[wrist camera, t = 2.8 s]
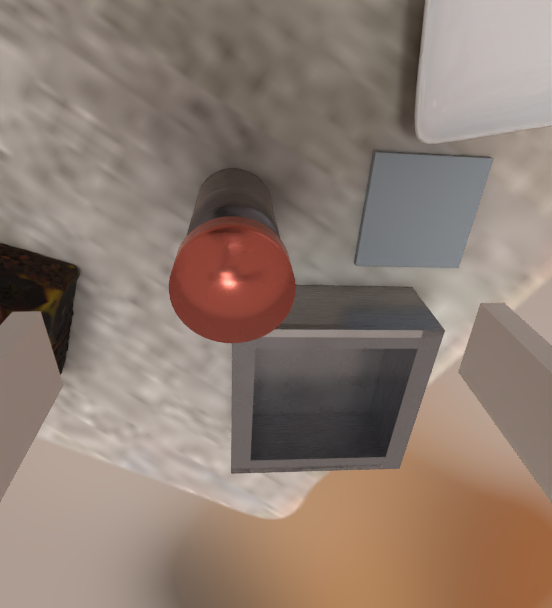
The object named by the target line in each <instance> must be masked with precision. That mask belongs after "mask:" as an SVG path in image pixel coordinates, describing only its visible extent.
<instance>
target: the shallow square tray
mask: <svg viewBox="0 0 552 608" xmlns="http://www.w3.org/2000/svg"><path fill="white" fill-rule="evenodd" d="M444 332H445V330H444V329H443V327H442V326H441V325H440V323H439V322H438V321H437V319H436V318H435V317H434V316H433V314H432V313H431V312H430V310H429V309H428V308H427V306H426V305H425V304H424V302H423V301H422V300H421V298H420V297H419V296H418V294H417V293H416V292H415V291H414V289H413V288H412V287H367V286H309V285H296V291H295V299H294V302H293V305H292V308H291V310H290V312H289V314H288V315H287V317H286V318H285V320H284V321H283V322H282V323H281V324H280V325H279V326H278V327H277V328H276V329H274V330H273V331H272V332H270V333H269V334H267V335H265V336H263V337H261V338H258V339H256V340H252V341H248V342H242V343H233V344H232V442H231V473H265V472H299V471H333V470H368V469H399V468H400V465H401V462H402V459H403V456H404V453H405V450H406V447H407V444H408V441H409V438H410V435H411V432H412V428H413V426H414V423H415V420H416V417H417V414H418V411H419V408H420V404H421V402H422V398H423V395H424V392H425V389H426V386H427V383H428V380H429V377H430V374H431V371H432V368H433V365H434V362H435V359H436V356H437V353H438V350H439V347H440V344H441V341H442V338H443V335H444Z"/></svg>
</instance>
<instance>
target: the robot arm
mask: <svg viewBox="0 0 552 608" xmlns="http://www.w3.org/2000/svg"><path fill="white" fill-rule="evenodd" d="M459 374H460V375H461V376H462V378H463V379H464V381H465V382H466V383H467V385H468V386H469V388H470V389H471V390H472V392H473V393H474V395H475V396H476V397H477V399H478V400H479V402H480V403H481V404H482V406H483V407H484V409H485V410H486V411H487V413H488V414H489V415H490V417H491V418H492V420H493V421H494V422H495V424H496V425H497V427H498V428H499V430H500V431H501V432H502V434H503V435H504V437H505V438H506V439H507V441H508V442H509V444H510V445H511V446H512V448H513V449H514V451H515V452H516V453H517V455H518V456H519V458H520V459H521V460H522V462H523V463H524V465H525V466H526V467H527V469H528V470H529V472H530V473H531V474H532V476H533V477H534V479H535V480H536V481H537V483H538V484H539V485H540V487H541V488H542V490H543V491H544V492H545V494H546V495H547V497H548V498H549V499H550V501H551V502H552V345H550V344H549V343H548V342H547V341H546V340H545V339H544V338H543V337H542V336H540V335H539V334H538V333H537V332H536V331H535V330H534V329H532V327H530V326H529V325H528V324H527V323H526V322H525V321H524V320H522V319H521V318H520V317H519V316H518V315H517V314H516V313H515V312H514V311H513V310H511V309H510V308H509V307H508V306H507V305H506V304H505V303H480V307H479V310H478V313H477V316H476V319H475V322H474V325H473V328H472V331H471V335H470V338H469V341H468V344H467V347H466V350H465V353H464V356H463V360H462V363H461V366H460V369H459ZM62 387H63V382H62V379H61V376H60V373H59V369H58V366H57V363H56V360H55V356H54V353H53V350H52V347H51V343H50V340H49V337H48V334H47V330H46V327H45V324H44V321H43V317H42V314H41V311H31V312H12V313H11V314H10V315H9V316H8V317H7V318H6V319H5V321H4V322H3V323H2V324H1V325H0V501H1V499H2V498H3V496H4V494H5V492H6V490H7V488H8V487H9V485H10V482H11V481H12V479H13V477H14V475H15V474H16V472H17V470H18V468H19V466H20V464H21V463H22V461H23V459H24V457H25V455H26V453H27V451H28V450H29V448H30V446H31V444H32V442H33V440H34V439H35V437H36V435H37V433H38V431H39V429H40V427H41V426H42V424H43V422H44V420H45V418H46V416H47V414H48V413H49V411H50V409H51V407H52V405H53V403H54V402H55V400H56V398H57V396H58V394H59V392H60V390H61V389H62Z"/></svg>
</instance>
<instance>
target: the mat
mask: <svg viewBox="0 0 552 608" xmlns="http://www.w3.org/2000/svg"><path fill="white" fill-rule="evenodd" d="M492 161H493V158H490V157H478V156H459V155H439V154H420V153H400V152H381V151H374V152H373V158H372V164H371V169H370V175H369V181H368V186H367V192H366V198H365V204H364V209H363V215H362V221H361V226H360V232H359V238H358V244H357V249H356V255H355V261H354V263H355V265H356V266H394V267H439V268H459V264H460V261H461V258H462V255H463V252H464V249H465V246H466V243H467V239H468V236H469V233H470V230H471V227H472V224H473V221H474V218H475V214H476V211H477V208H478V205H479V202H480V199H481V196H482V192H483V189H484V186H485V183H486V180H487V177H488V174H489V171H490V167H491V164H492Z"/></svg>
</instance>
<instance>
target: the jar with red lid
mask: <svg viewBox="0 0 552 608" xmlns="http://www.w3.org/2000/svg"><path fill="white" fill-rule="evenodd" d="M295 291H296V285H295V278H294V274H293V271H292V267H291V263H290V259H289V256H288V252H287V250H286V248H285V246H284V244H283V242H282V241H281V239H280V236H279V232H278V228H277V224H276V220H275V216H274V212H273V208H272V203H271V199H270V196H269V193H268V190H267V188H266V187H265V185H264V184H263V182H262V181H261V180H260V179H259V178H258V177H256V176H255V175H254V174H252V173H250V172H248V171H245V170H242V169H236V168H230V169H224V170H221V171H218V172H216V173H214V174H213V175H211V176H210V177H209V178H208V179H207V180H206V181H205V182H204V183H203V185H202V186H201V188H200V190H199V194H198V197H197V200H196V204H195V208H194V211H193V215H192V218H191V222H190V226H189V229H188V233H187V236H186V238H185V239H184V241H183V242H182V243H181V245H180V247H179V250H178V252H177V256H176V259H175V262H174V266H173V269H172V272H171V276H170V281H169V294H170V300H171V303H172V306H173V308H174V310H175V312H176V314H177V315H178V317H179V318H180V319H181V321H182V322H183V323H184V324H185V325H186V326H187V327H189V328H190V329H191V330H192V331H194V332H195V333H197V334H199V335H201V336H203V337H205V338H207V339H210V340H214V341H217V342H223V343H242V342H248V341H252V340H256V339H258V338H261V337H263V336H265V335H267V334H269V333H270V332H272V331H273V330H274V329H276V328H277V327H278V326H279V325H280V324H281V323H282V322H283V321H284V320H285V318H286V317H287V315H288V314H289V312H290V310H291V308H292V305H293V302H294V299H295Z"/></svg>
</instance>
